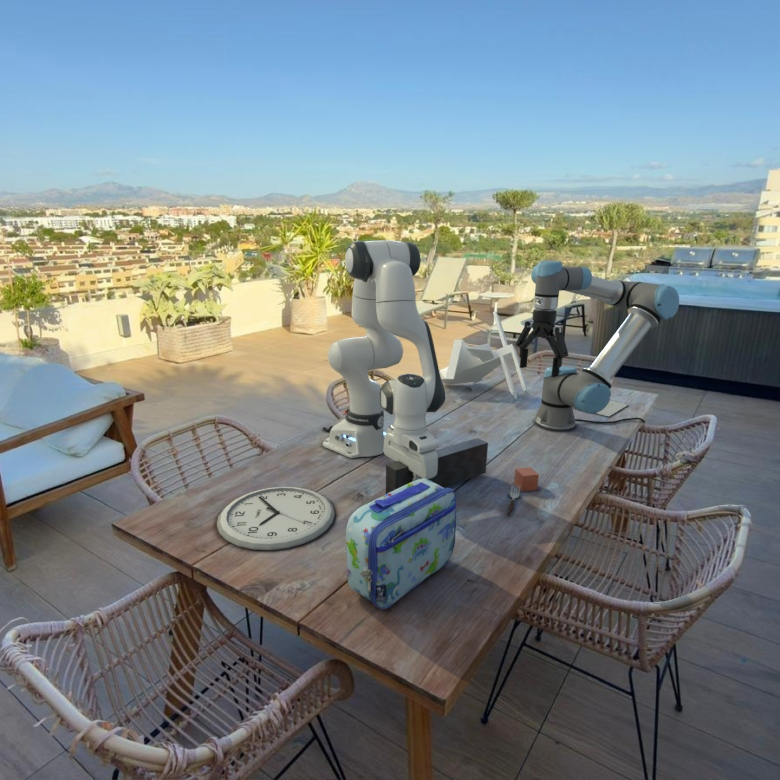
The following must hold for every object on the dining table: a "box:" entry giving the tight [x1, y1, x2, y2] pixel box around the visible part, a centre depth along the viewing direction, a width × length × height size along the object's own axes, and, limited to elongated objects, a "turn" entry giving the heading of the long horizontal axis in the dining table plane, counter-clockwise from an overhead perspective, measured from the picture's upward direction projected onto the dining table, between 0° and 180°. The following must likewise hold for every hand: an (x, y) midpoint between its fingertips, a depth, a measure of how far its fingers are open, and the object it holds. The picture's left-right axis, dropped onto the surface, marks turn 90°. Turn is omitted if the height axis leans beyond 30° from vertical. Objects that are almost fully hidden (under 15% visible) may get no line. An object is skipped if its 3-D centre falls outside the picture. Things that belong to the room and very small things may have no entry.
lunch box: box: [345, 478, 457, 610], centre depth 110 cm, size 26×11×21 cm, turn 134°
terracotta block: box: [513, 466, 540, 492], centre depth 154 cm, size 5×5×5 cm
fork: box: [507, 483, 521, 517], centre depth 145 cm, size 3×16×2 cm, turn 160°
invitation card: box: [595, 400, 629, 418], centre depth 226 cm, size 21×1×15 cm
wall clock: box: [216, 486, 336, 551], centre depth 136 cm, size 30×2×30 cm
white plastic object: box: [439, 310, 531, 400], centre depth 245 cm, size 37×45×31 cm
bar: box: [385, 437, 489, 495], centre depth 150 cm, size 34×4×10 cm, turn 125°
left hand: (408, 481), depth 145 cm, fingers closed on bar, 4 cm apart
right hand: (538, 371), depth 178 cm, fingers open, 13 cm apart
